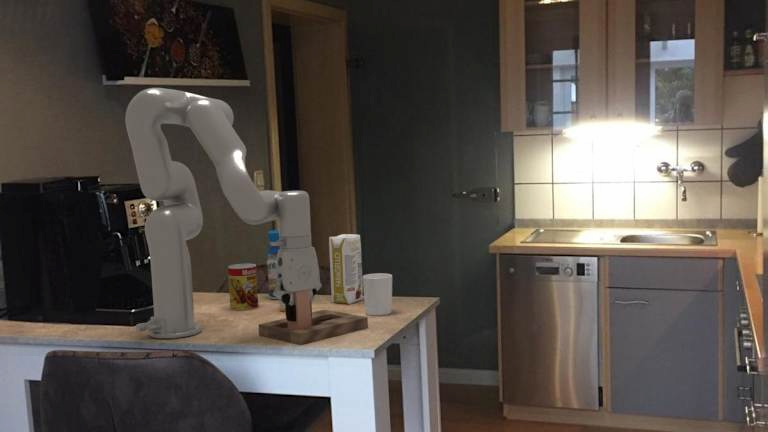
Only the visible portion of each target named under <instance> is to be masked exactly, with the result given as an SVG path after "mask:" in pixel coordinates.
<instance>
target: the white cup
mask: <svg viewBox="0 0 768 432" xmlns="http://www.w3.org/2000/svg"><path fill="white" fill-rule="evenodd" d="M362 282H363V298H364V304H365V314H366V315H369V316H385V315H389V314H390V315H391V314H392V303H393V274H390V273H385V272H384V273H379V272H378V273H368V274H364V275H362Z"/></svg>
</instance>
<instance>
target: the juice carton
mask: <svg viewBox="0 0 768 432" xmlns="http://www.w3.org/2000/svg"><path fill="white" fill-rule="evenodd" d="M328 238H329V239H328V240H329V241H328V247H329V248H328V249H329V251H328V252H329V265H330V266H329V271H330V289H331V290H330V291H331V292H330V293H331V302H332V304H333V303H334V304H345V305H351V304H354V303H357V302H360V301H362V300H363V298H364V289H363V278H362V276H363V264H362V262H363V261H362V241H361V235H360V234H354V233H353V234H352V233H349V234H348V233H347V234H345V233H344V234H343V233H342V234H339V235H337V236H329V237H328Z"/></svg>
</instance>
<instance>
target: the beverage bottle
mask: <svg viewBox="0 0 768 432" xmlns="http://www.w3.org/2000/svg"><path fill="white" fill-rule="evenodd" d="M267 234H268V239H267V240H268V243H269V244H270V245H269V246H268V249H267V253H266V256H267V261H266V266H267V274H268V289H269V290H268V297H269V299H271V300H279V298H278V297H276V296H274V295H273V291H274V289H275V287H276V262H277V254H278V250H280V246H277V245H276V241H279V229H275V230H269V231H268V233H267ZM279 301H280V300H279Z"/></svg>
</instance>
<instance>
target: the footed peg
mask: <svg viewBox="0 0 768 432" xmlns="http://www.w3.org/2000/svg"><path fill="white" fill-rule="evenodd" d="M288 298H289V297H288ZM293 305H296V321H295V322H292V321H288V328H286V329H290V330H298V329H302V328H306V327H311V326H312V325H311V304H310V290H306V291H301V292H296V293H295V296H294V304H293Z"/></svg>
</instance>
